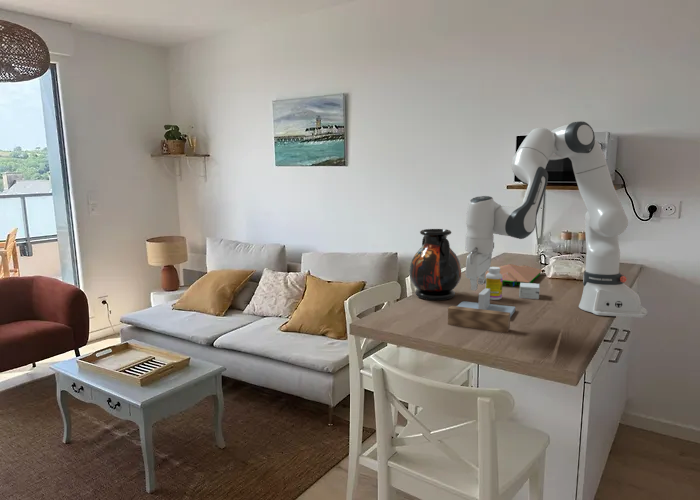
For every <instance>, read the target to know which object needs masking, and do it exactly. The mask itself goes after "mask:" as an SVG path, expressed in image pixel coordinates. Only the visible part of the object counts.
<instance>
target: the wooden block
mask: <svg viewBox="0 0 700 500" xmlns="http://www.w3.org/2000/svg"><path fill="white" fill-rule="evenodd" d="M447 325H448V326H449V325H450V326H456V327H463V328H464V327H465V328H472V329H478V330H486V331H487V330H488V331H493V332H501V333H507V334H508V333H509V331H510V330H511V318H510V313H509V312H500V311H492V310H483V309H475V308H466V307H458V305H450V306H449V307H448V308H447Z"/></svg>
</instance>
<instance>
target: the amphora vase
mask: <svg viewBox="0 0 700 500" xmlns="http://www.w3.org/2000/svg"><path fill="white" fill-rule="evenodd" d="M419 233H420V235H422V236H423V237H422V242H421V247H420V248H419V249H418V250H417V251H416V252H415V254H414V255H413V258H412V259H411V262H410V265H409V278H410V282H412V284H413V286H414V287H415V288H416V290H415V296H416V297H418V298H420V299H424V300H429V301H443V300H445V301H446V300H449V299H452V298H453V297H455V294H456V292H455V291H454V289H455V288H456V287H457V286H458V284H459V283H460V281H461V280H462V279H461V278H462V267H461V262H460V260H459V257H458V255H457V254H456V253H455V252H454V250H453V249H452V248H451V247H450V245H451V244H450V242H449V240H448V239H447V237H448V236H450V235H451V234H452V231H451V230H450V229H445V228H428V229H422V230H420V231H419Z"/></svg>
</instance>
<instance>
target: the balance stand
mask: <svg viewBox="0 0 700 500" xmlns="http://www.w3.org/2000/svg"><path fill="white" fill-rule="evenodd" d="M457 306H458V307H466V308H475V309H483V310H492V311H500V312H509V313H510V319H511V318H512V316H513V314H514V313H515V312H516V306H514V305H513V306H511V305H501V304H495V303H494V304H492V303H491V300H490V289H488V288H484V289H482V291H480V292H479V293H478V302H474V301H466V300H465V301H463V300H462V301H461V302H460V303H459V304H458V305H457Z"/></svg>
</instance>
